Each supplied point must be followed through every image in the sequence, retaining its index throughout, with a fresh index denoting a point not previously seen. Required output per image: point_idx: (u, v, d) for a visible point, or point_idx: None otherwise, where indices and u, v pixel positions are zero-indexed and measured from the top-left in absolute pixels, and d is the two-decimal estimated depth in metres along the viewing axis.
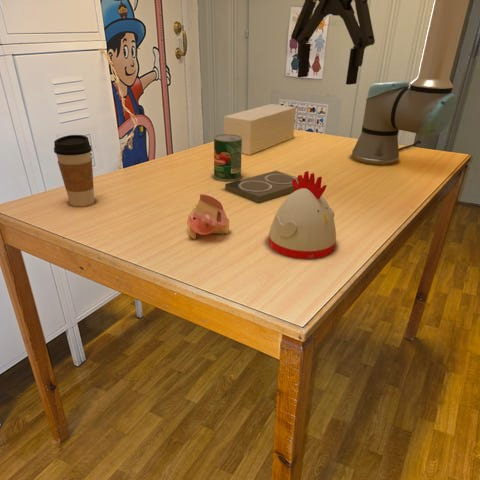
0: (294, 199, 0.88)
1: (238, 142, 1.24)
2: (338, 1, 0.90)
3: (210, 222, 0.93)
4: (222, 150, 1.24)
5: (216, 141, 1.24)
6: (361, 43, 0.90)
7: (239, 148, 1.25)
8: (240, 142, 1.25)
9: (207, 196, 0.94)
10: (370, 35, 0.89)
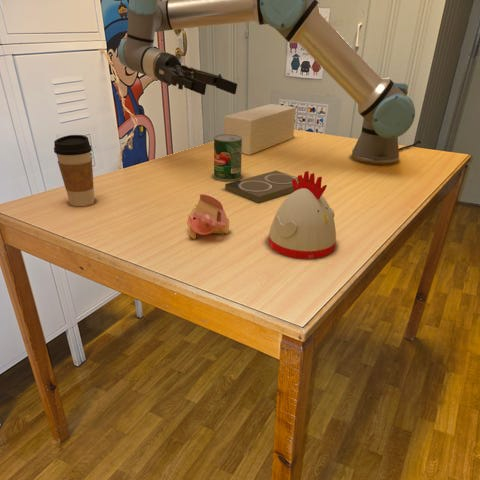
0: (294, 199, 0.88)
1: (239, 142, 1.24)
2: None
3: (210, 222, 0.93)
4: (222, 150, 1.24)
5: (216, 141, 1.24)
6: (178, 83, 1.17)
7: (239, 148, 1.25)
8: (240, 142, 1.25)
9: (207, 196, 0.94)
10: (171, 78, 1.16)
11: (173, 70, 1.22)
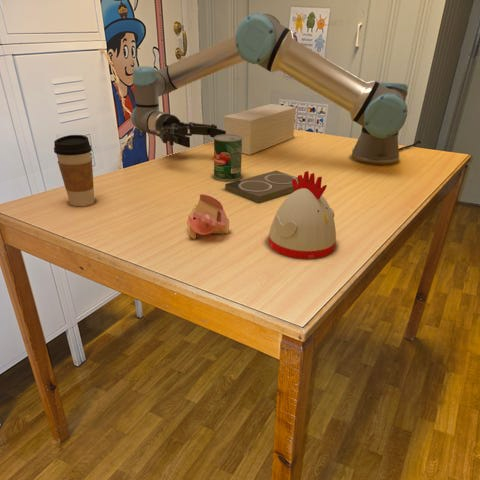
0: (294, 199, 0.88)
1: (238, 142, 1.24)
2: None
3: (210, 222, 0.93)
4: (222, 150, 1.24)
5: (216, 141, 1.24)
6: None
7: (239, 148, 1.25)
8: (240, 142, 1.25)
9: (207, 196, 0.94)
10: (162, 137, 1.32)
11: (169, 128, 1.38)
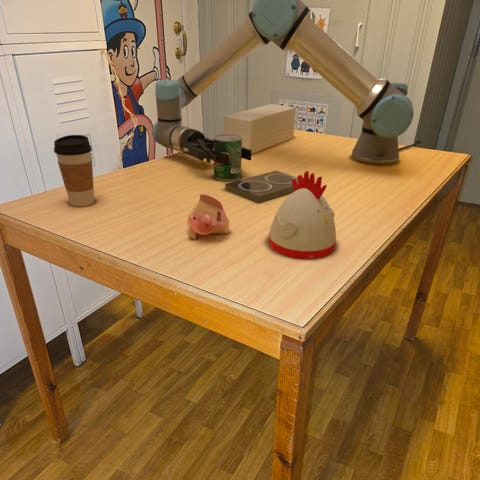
0: (294, 199, 0.88)
1: (238, 142, 1.24)
2: None
3: (210, 222, 0.93)
4: (222, 150, 1.24)
5: (216, 141, 1.24)
6: (206, 158, 1.27)
7: (239, 148, 1.25)
8: (240, 142, 1.25)
9: (207, 196, 0.94)
10: (198, 154, 1.26)
11: (194, 145, 1.32)
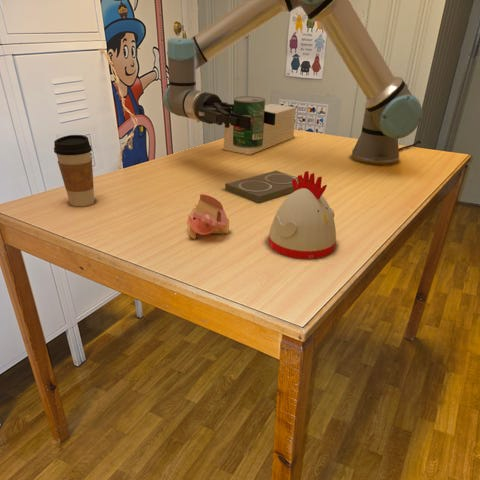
0: (294, 199, 0.88)
1: (262, 104, 1.10)
2: None
3: (210, 222, 0.93)
4: (243, 112, 1.10)
5: (236, 102, 1.10)
6: None
7: (262, 111, 1.11)
8: (263, 104, 1.11)
9: (207, 196, 0.94)
10: (216, 118, 1.12)
11: (210, 109, 1.18)
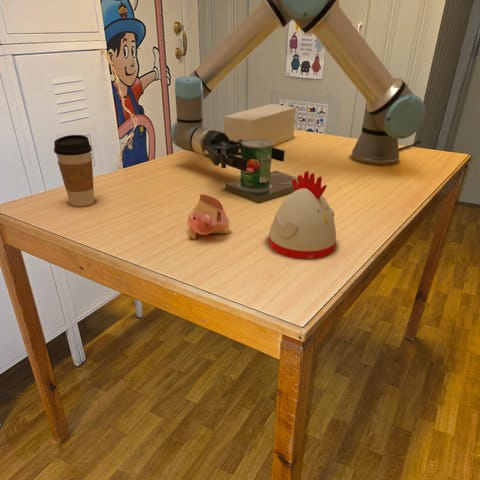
0: (294, 199, 0.88)
1: (269, 148, 1.13)
2: None
3: (210, 222, 0.93)
4: (251, 157, 1.13)
5: (244, 146, 1.13)
6: None
7: (269, 155, 1.14)
8: (270, 148, 1.14)
9: (207, 196, 0.94)
10: (213, 158, 1.14)
11: (218, 148, 1.21)
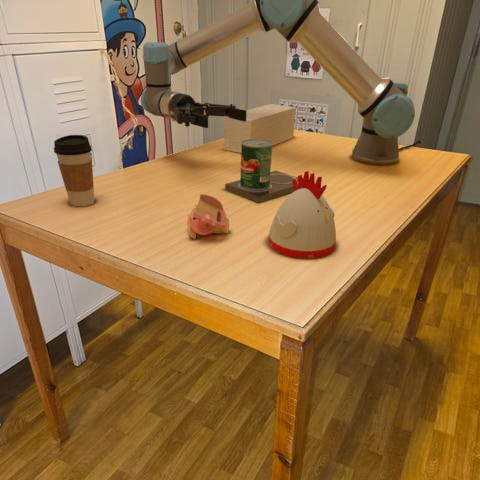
0: (294, 199, 0.88)
1: (269, 148, 1.13)
2: None
3: (210, 222, 0.93)
4: (251, 157, 1.13)
5: (244, 146, 1.13)
6: None
7: (269, 155, 1.14)
8: (270, 148, 1.14)
9: (207, 196, 0.94)
10: (177, 117, 1.19)
11: (184, 109, 1.26)
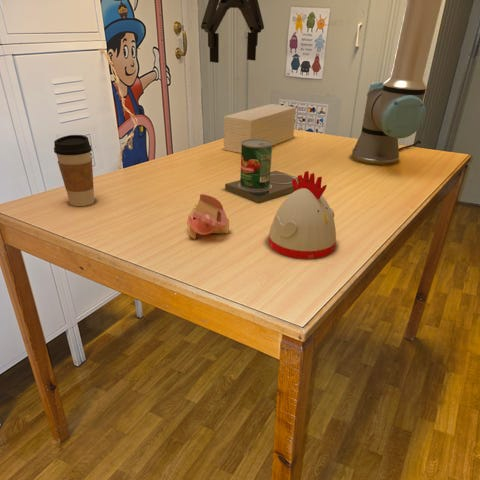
0: (294, 199, 0.88)
1: (269, 148, 1.13)
2: None
3: (210, 222, 0.93)
4: (251, 157, 1.13)
5: (244, 146, 1.13)
6: None
7: (269, 155, 1.14)
8: (270, 148, 1.14)
9: (207, 196, 0.94)
10: (205, 21, 1.12)
11: None
